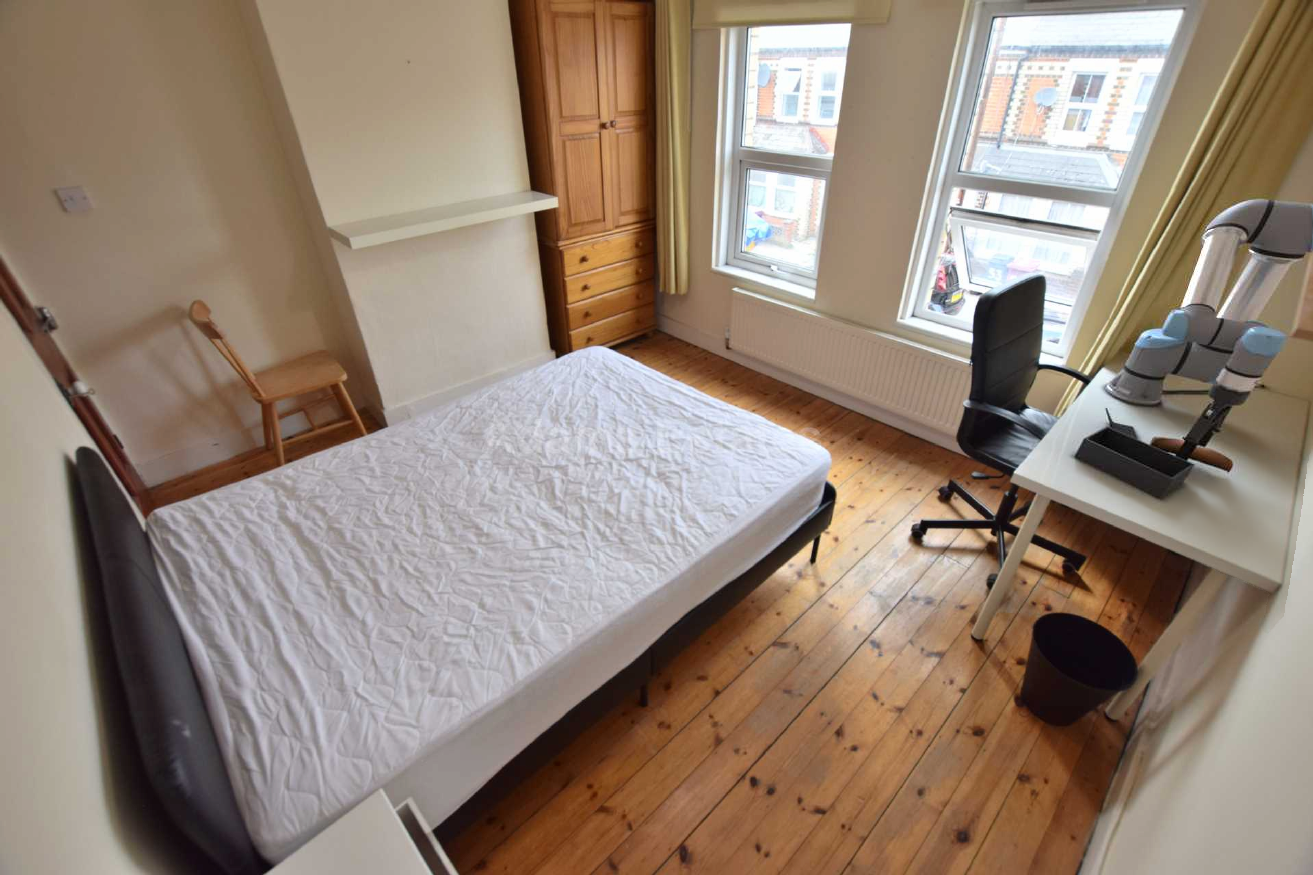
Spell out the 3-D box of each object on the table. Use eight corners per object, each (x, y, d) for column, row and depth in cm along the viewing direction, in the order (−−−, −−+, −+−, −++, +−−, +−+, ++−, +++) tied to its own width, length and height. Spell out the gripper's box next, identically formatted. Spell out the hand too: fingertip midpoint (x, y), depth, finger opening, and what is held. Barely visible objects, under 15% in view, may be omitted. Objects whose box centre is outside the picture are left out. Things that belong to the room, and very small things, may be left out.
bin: (1097, 444, 173) (1107, 426, 170) (1182, 483, 158) (1195, 464, 154) (1074, 457, 168) (1083, 438, 164) (1160, 499, 152) (1173, 479, 148)
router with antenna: (1148, 442, 172) (1136, 414, 170) (1120, 452, 175) (1107, 424, 173) (1132, 427, 182) (1120, 401, 180) (1106, 437, 185) (1094, 411, 183)
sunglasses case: (1229, 459, 161) (1241, 448, 156) (1221, 479, 160) (1233, 469, 154) (1151, 435, 171) (1160, 424, 166) (1143, 454, 169) (1151, 443, 164)
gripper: (1233, 403, 143) (1185, 474, 156) (1267, 381, 153) (1220, 450, 166) (1197, 390, 149) (1154, 460, 161) (1233, 370, 158) (1189, 437, 171)
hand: (1187, 455), depth 164 cm, fingers closed on sunglasses case, 9 cm apart
